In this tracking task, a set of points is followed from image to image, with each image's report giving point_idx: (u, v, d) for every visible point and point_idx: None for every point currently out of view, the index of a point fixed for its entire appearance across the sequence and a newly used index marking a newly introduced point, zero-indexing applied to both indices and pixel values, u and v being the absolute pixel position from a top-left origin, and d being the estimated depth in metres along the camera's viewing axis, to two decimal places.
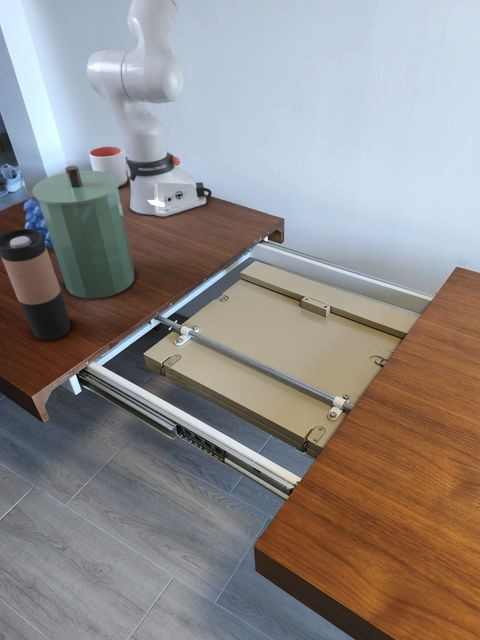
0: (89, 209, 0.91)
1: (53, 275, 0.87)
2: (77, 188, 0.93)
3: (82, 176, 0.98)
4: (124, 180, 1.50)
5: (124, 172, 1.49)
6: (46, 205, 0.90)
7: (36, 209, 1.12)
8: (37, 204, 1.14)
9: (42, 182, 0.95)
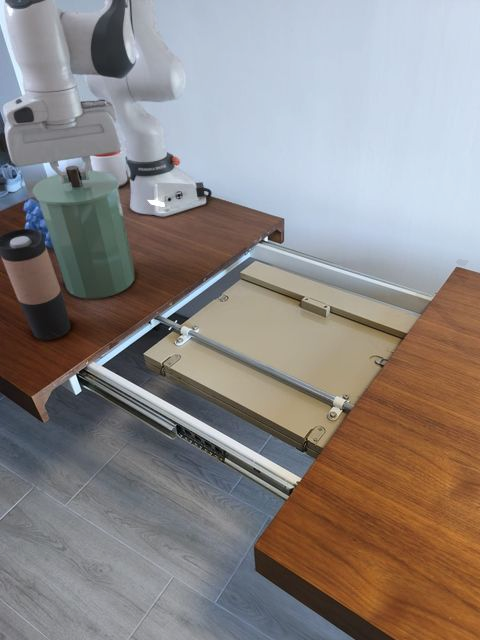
0: (89, 209, 0.91)
1: (53, 275, 0.87)
2: (77, 188, 0.93)
3: None
4: (124, 180, 1.50)
5: (124, 172, 1.49)
6: (46, 205, 0.90)
7: (36, 209, 1.12)
8: (37, 204, 1.14)
9: (42, 182, 0.95)
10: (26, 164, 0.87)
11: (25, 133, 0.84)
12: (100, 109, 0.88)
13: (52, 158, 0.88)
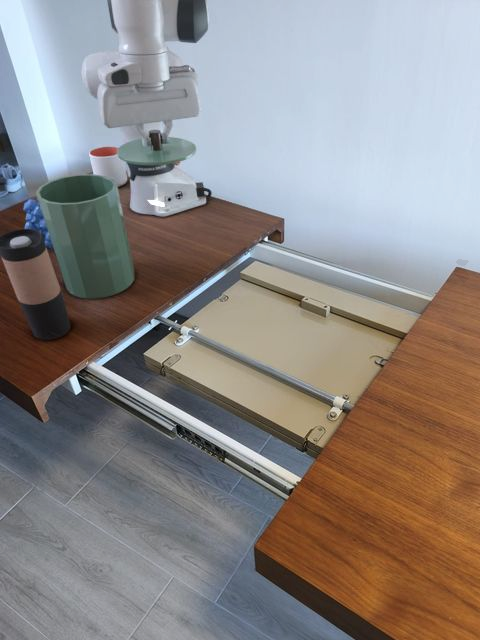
0: (89, 209, 0.91)
1: (53, 275, 0.87)
2: (159, 151, 0.98)
3: None
4: (124, 180, 1.50)
5: (124, 172, 1.49)
6: (46, 205, 0.90)
7: (36, 209, 1.12)
8: (37, 204, 1.14)
9: (124, 146, 1.01)
10: (116, 126, 0.92)
11: (118, 95, 0.89)
12: (184, 74, 0.93)
13: (139, 120, 0.93)
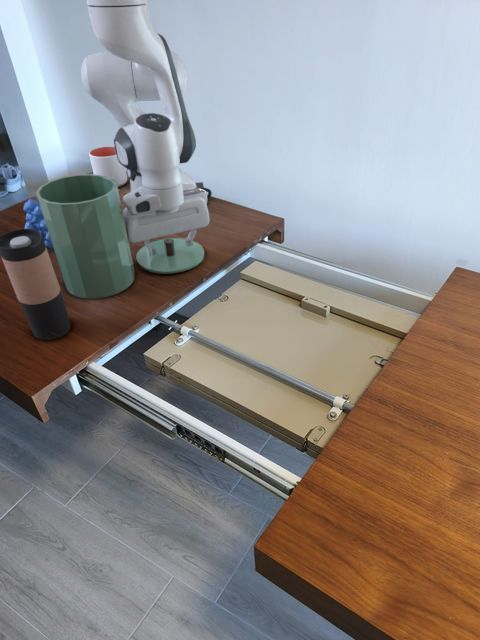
0: (89, 209, 0.91)
1: (53, 275, 0.87)
2: (172, 257, 1.14)
3: None
4: (124, 180, 1.50)
5: (124, 172, 1.49)
6: (46, 205, 0.90)
7: (36, 209, 1.12)
8: (37, 204, 1.14)
9: (142, 250, 1.17)
10: (138, 241, 1.08)
11: (140, 218, 1.05)
12: (196, 195, 1.10)
13: (158, 235, 1.09)
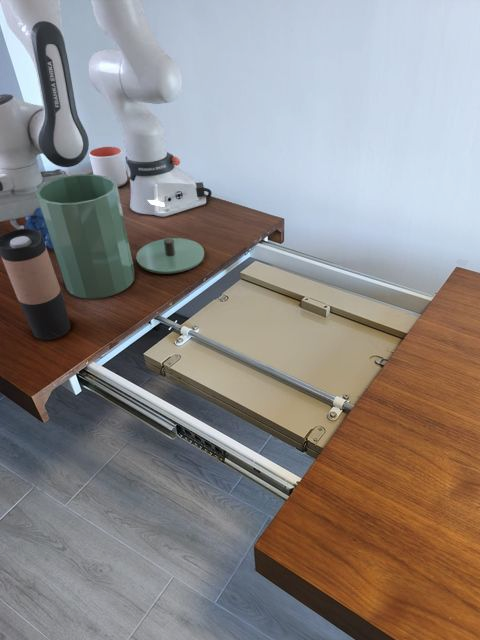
0: (89, 209, 0.91)
1: (53, 275, 0.87)
2: (172, 257, 1.14)
3: None
4: (124, 180, 1.50)
5: (124, 172, 1.49)
6: (46, 205, 0.90)
7: None
8: None
9: (142, 250, 1.17)
10: None
11: None
12: (57, 177, 1.12)
13: (19, 215, 1.11)
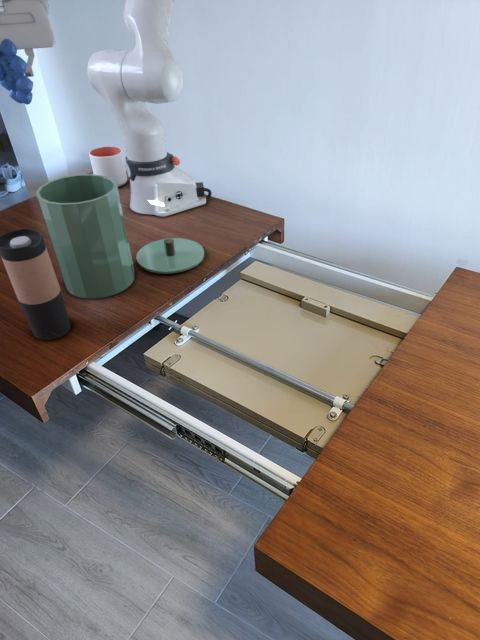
0: (89, 209, 0.91)
1: (53, 275, 0.87)
2: (172, 257, 1.14)
3: None
4: (124, 180, 1.50)
5: (124, 172, 1.49)
6: (46, 205, 0.90)
7: (2, 41, 0.86)
8: None
9: (142, 250, 1.17)
10: None
11: None
12: None
13: None
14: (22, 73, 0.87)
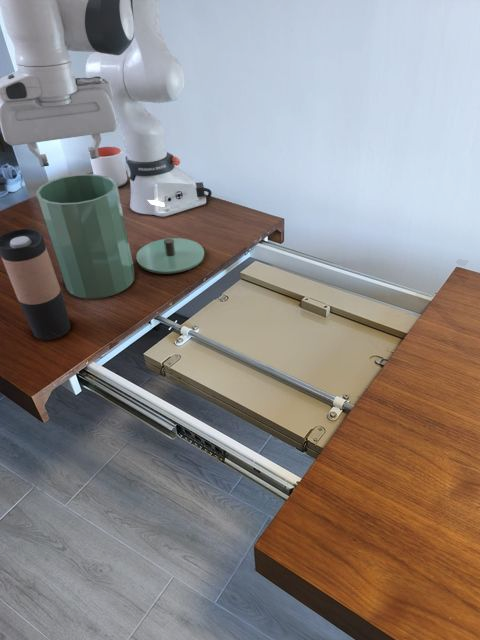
0: (89, 209, 0.91)
1: (53, 275, 0.87)
2: (172, 257, 1.14)
3: None
4: (124, 180, 1.50)
5: (124, 172, 1.49)
6: (46, 205, 0.90)
7: None
8: None
9: (142, 250, 1.17)
10: (19, 143, 0.84)
11: (18, 110, 0.81)
12: (95, 86, 0.86)
13: (46, 137, 0.85)
14: None
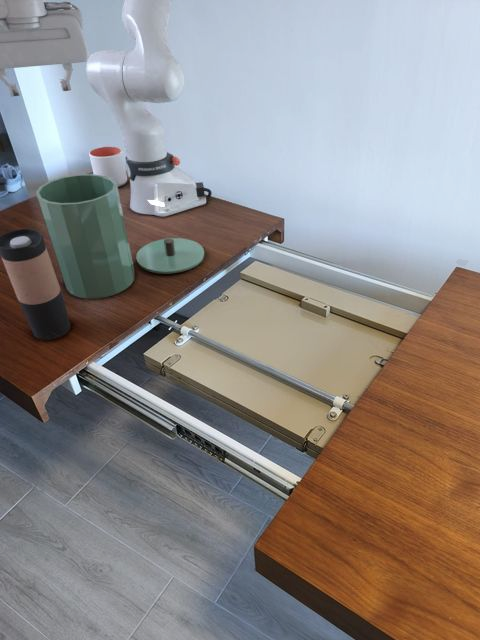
0: (89, 209, 0.91)
1: (53, 275, 0.87)
2: (172, 257, 1.14)
3: None
4: (124, 180, 1.50)
5: (124, 172, 1.49)
6: (46, 205, 0.90)
7: None
8: None
9: (142, 250, 1.17)
10: None
11: None
12: (65, 12, 0.85)
13: (15, 63, 0.84)
14: None
